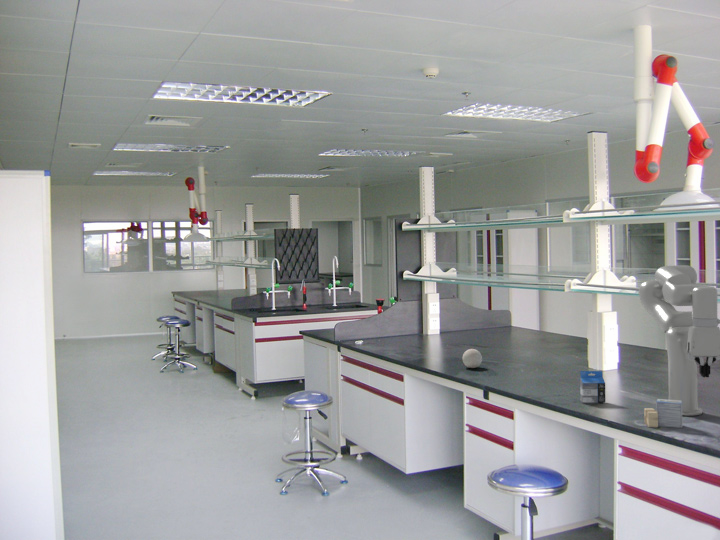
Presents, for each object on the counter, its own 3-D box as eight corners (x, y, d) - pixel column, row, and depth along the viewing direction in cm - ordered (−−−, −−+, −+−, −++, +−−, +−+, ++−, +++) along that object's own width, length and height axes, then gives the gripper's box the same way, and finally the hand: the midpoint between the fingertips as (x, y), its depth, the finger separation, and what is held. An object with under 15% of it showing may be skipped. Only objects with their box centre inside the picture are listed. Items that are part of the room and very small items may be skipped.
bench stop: (644, 422, 226) (644, 408, 225) (653, 422, 225) (653, 408, 225) (648, 427, 220) (648, 412, 220) (657, 427, 219) (657, 412, 219)
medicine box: (682, 425, 221) (682, 400, 221) (682, 428, 217) (682, 403, 217) (657, 423, 224) (656, 398, 224) (656, 426, 220) (656, 401, 220)
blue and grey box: (582, 403, 254) (582, 372, 254) (580, 401, 258) (579, 371, 258) (605, 403, 253) (605, 372, 253) (603, 401, 257) (602, 370, 257)
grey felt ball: (461, 366, 340) (461, 347, 340) (480, 366, 340) (480, 347, 339) (463, 370, 330) (463, 350, 330) (483, 369, 330) (483, 350, 329)
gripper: (724, 321, 220) (724, 374, 221) (677, 321, 223) (678, 373, 224) (732, 324, 213) (732, 379, 214) (684, 324, 216) (684, 378, 217)
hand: (704, 376), depth 219 cm, fingers closed
